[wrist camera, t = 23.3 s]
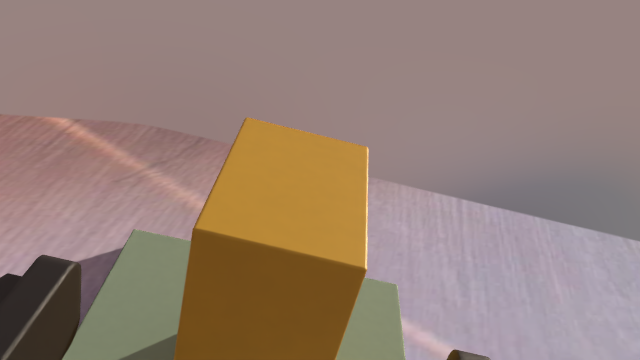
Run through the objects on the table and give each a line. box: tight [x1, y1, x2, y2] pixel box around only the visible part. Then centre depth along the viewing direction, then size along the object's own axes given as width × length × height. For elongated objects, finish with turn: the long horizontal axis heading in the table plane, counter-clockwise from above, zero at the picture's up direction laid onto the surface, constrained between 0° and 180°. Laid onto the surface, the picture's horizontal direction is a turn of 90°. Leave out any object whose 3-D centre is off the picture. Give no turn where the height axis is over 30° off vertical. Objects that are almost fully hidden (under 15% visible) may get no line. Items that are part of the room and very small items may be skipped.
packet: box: [174, 118, 368, 360], centre depth 20 cm, size 4×7×10 cm, turn 175°
